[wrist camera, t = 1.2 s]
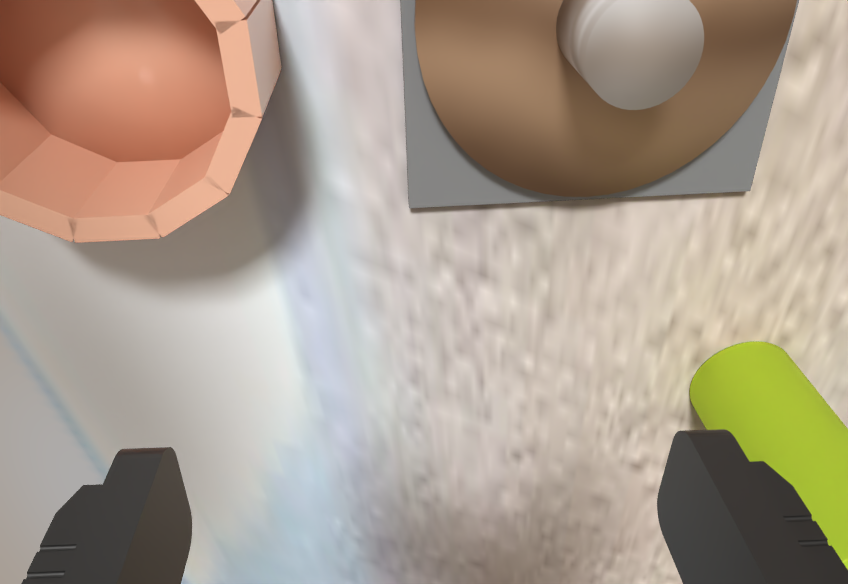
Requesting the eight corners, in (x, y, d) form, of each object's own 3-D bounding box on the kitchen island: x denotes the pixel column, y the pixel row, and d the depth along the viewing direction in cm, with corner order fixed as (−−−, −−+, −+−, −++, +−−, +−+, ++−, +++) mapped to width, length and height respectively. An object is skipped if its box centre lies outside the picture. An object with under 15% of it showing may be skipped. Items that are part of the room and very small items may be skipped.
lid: (407, -208, 23) (415, -220, 19) (841, -220, 24) (947, -234, 19) (419, 197, 31) (427, 256, 27) (741, 181, 32) (801, 236, 28)
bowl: (-99, -140, 24) (-225, -135, 19) (251, -151, 24) (220, -148, 19) (21, 181, 30) (-48, 249, 25) (295, 168, 31) (280, 232, 26)
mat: (391, -225, 23) (391, -227, 23) (852, -237, 24) (860, -239, 24) (408, 203, 32) (409, 208, 32) (745, 186, 33) (750, 191, 32)
